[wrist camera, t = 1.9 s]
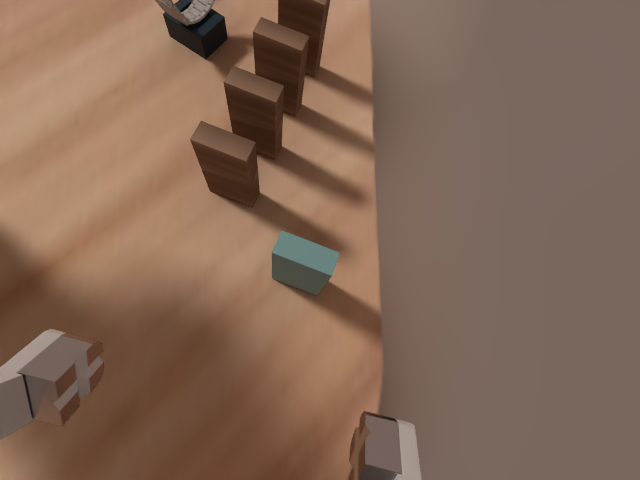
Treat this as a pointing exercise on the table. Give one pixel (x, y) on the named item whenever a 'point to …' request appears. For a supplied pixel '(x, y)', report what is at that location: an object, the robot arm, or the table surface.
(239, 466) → the table surface
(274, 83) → the walnut domino
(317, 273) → the teal domino
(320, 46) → the walnut domino
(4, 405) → the robot arm
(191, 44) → the watch
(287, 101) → the walnut domino
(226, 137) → the walnut domino
